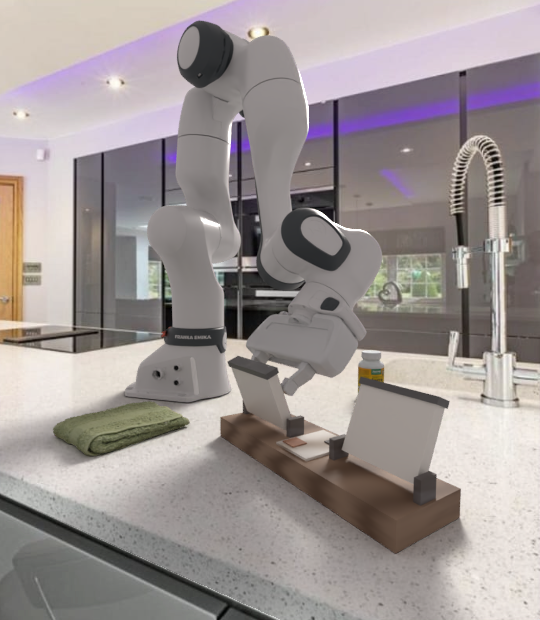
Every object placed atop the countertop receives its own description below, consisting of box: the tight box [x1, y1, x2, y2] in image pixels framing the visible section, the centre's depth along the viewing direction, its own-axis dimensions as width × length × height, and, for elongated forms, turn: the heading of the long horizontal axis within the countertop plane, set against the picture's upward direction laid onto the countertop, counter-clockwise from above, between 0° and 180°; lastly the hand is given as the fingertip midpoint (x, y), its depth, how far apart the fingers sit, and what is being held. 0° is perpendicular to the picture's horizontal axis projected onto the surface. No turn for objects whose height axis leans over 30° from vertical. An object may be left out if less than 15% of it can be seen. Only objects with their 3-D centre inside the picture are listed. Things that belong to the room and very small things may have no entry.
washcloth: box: [52, 400, 191, 457], centre depth 64 cm, size 13×18×3 cm
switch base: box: [219, 400, 462, 554], centre depth 52 cm, size 33×10×5 cm, turn 34°
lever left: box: [227, 355, 292, 430], centre depth 58 cm, size 10×2×9 cm, turn 34°
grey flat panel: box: [342, 377, 450, 484], centre depth 44 cm, size 10×2×9 cm, turn 34°
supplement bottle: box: [357, 349, 385, 393], centre depth 85 cm, size 5×5×10 cm
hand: (265, 385), depth 59 cm, fingers open, 8 cm apart
